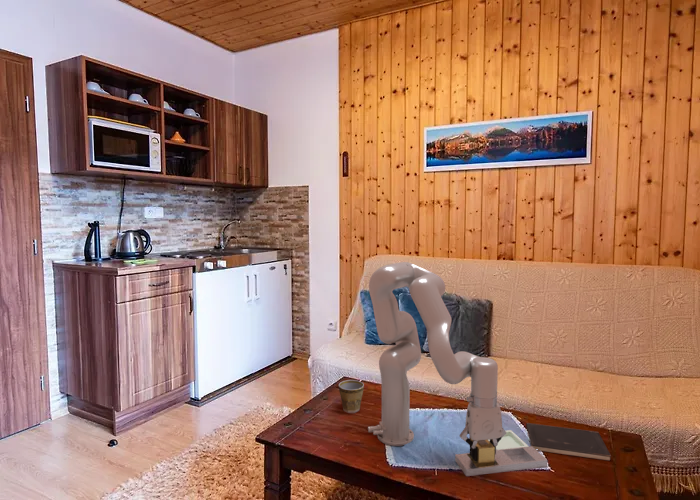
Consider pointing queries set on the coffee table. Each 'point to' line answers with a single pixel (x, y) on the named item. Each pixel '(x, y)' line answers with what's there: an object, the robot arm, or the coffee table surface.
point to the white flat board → (504, 461)
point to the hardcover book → (567, 441)
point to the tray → (510, 441)
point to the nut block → (484, 454)
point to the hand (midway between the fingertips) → (482, 457)
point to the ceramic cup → (351, 395)
